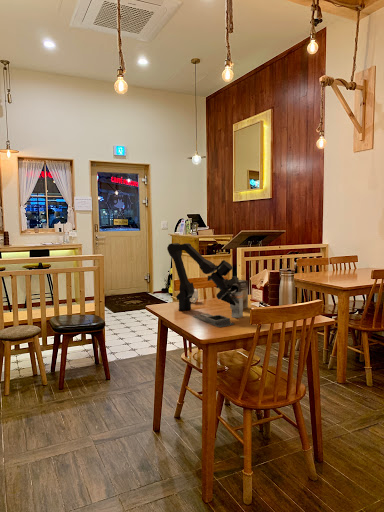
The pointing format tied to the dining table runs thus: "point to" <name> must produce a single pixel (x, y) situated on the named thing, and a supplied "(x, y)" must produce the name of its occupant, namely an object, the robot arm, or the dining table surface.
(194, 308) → the dining table surface
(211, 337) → the dining table surface
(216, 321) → the dark flat piece
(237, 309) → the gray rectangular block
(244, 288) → the coffee box
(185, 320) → the dining table surface
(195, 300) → the penguin figurine
